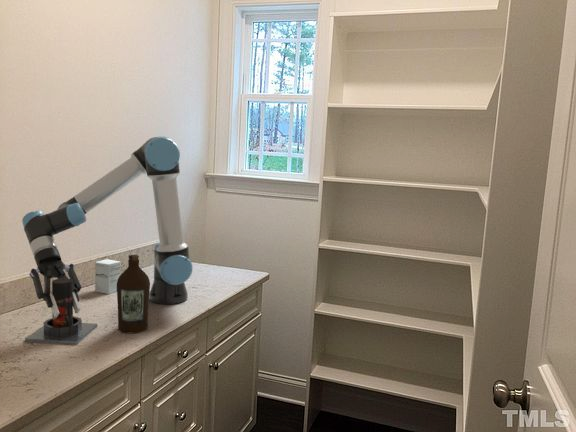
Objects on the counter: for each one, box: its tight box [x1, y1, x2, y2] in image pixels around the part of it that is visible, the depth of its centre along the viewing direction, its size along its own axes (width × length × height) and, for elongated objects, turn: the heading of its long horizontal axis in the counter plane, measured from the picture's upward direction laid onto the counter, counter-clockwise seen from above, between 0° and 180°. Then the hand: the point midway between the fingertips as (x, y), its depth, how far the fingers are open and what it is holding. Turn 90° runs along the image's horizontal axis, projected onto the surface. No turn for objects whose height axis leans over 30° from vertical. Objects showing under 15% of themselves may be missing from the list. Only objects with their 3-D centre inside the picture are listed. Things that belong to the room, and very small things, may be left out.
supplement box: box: [94, 258, 122, 295], centre depth 211 cm, size 7×7×13 cm
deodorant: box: [51, 278, 74, 327], centre depth 162 cm, size 6×6×15 cm
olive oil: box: [116, 254, 151, 334], centre depth 169 cm, size 11×11×25 cm
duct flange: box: [24, 315, 98, 346], centre depth 163 cm, size 16×16×4 cm
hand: (67, 313), depth 160 cm, fingers closed on deodorant, 6 cm apart
